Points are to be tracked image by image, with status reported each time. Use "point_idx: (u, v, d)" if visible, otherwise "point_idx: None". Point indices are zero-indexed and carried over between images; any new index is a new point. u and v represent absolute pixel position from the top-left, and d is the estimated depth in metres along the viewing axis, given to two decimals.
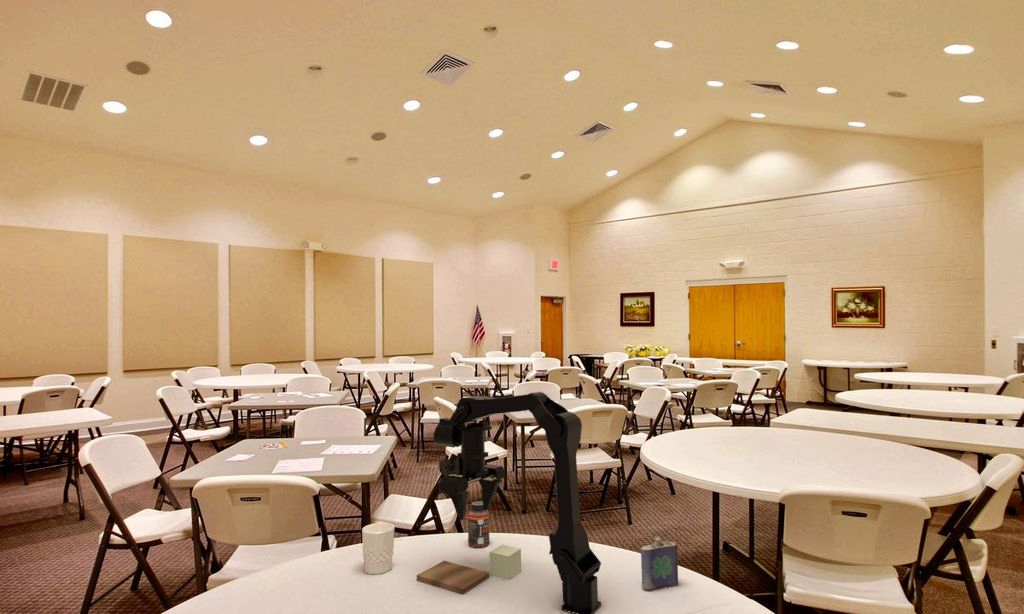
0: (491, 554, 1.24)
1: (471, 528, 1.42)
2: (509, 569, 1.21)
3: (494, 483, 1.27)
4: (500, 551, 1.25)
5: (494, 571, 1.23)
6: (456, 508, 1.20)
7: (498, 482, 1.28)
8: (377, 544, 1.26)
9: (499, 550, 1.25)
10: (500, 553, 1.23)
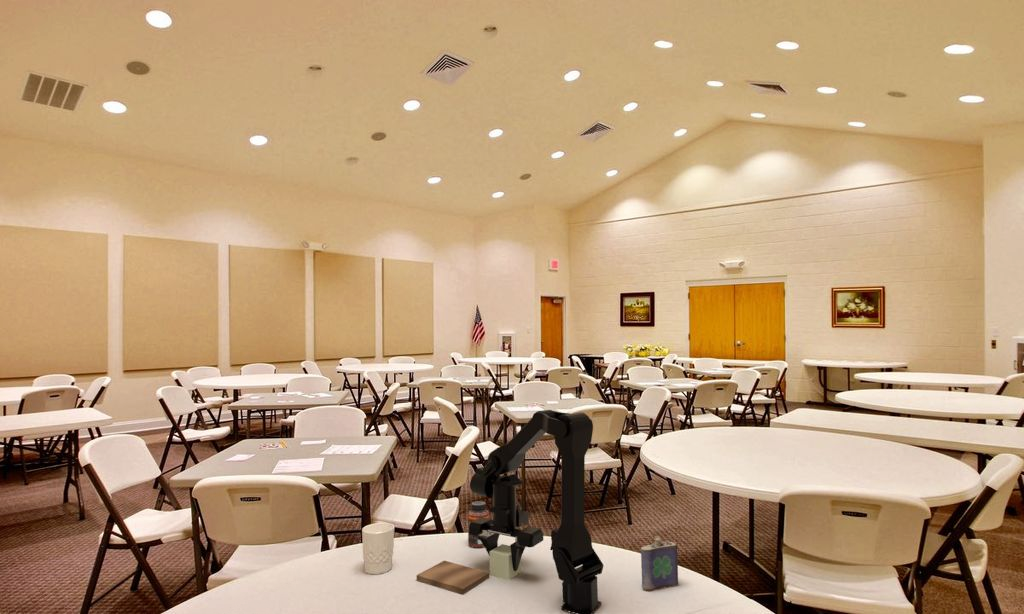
0: (491, 554, 1.24)
1: None
2: (509, 569, 1.21)
3: None
4: (500, 550, 1.25)
5: (494, 570, 1.23)
6: None
7: (514, 547, 1.20)
8: (377, 544, 1.26)
9: (499, 549, 1.25)
10: (500, 553, 1.23)
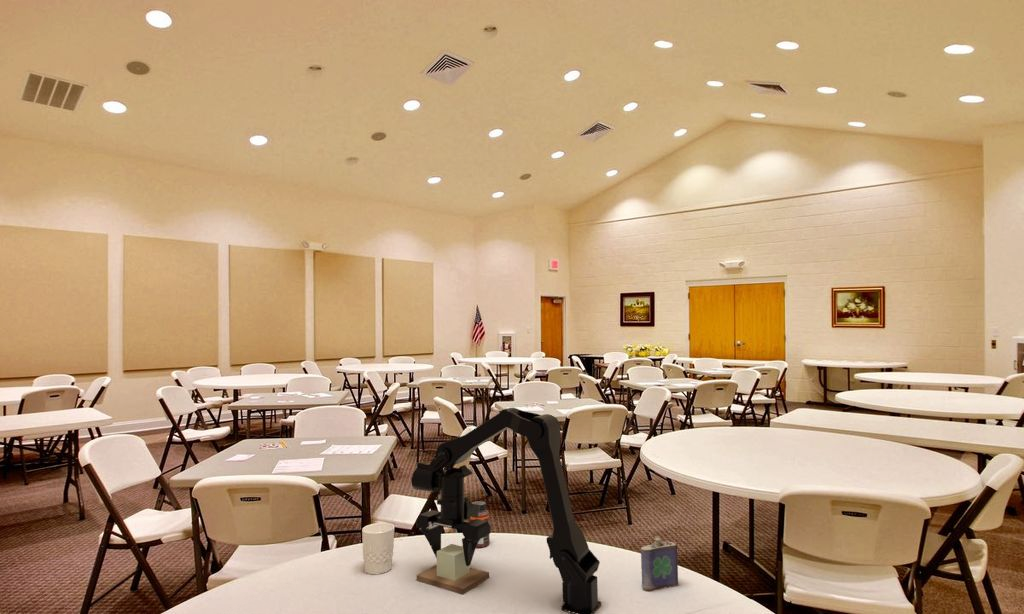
0: (438, 554, 1.21)
1: None
2: (455, 569, 1.19)
3: None
4: (447, 550, 1.22)
5: (441, 570, 1.21)
6: None
7: (465, 541, 1.17)
8: (377, 544, 1.26)
9: (447, 549, 1.23)
10: (447, 553, 1.21)
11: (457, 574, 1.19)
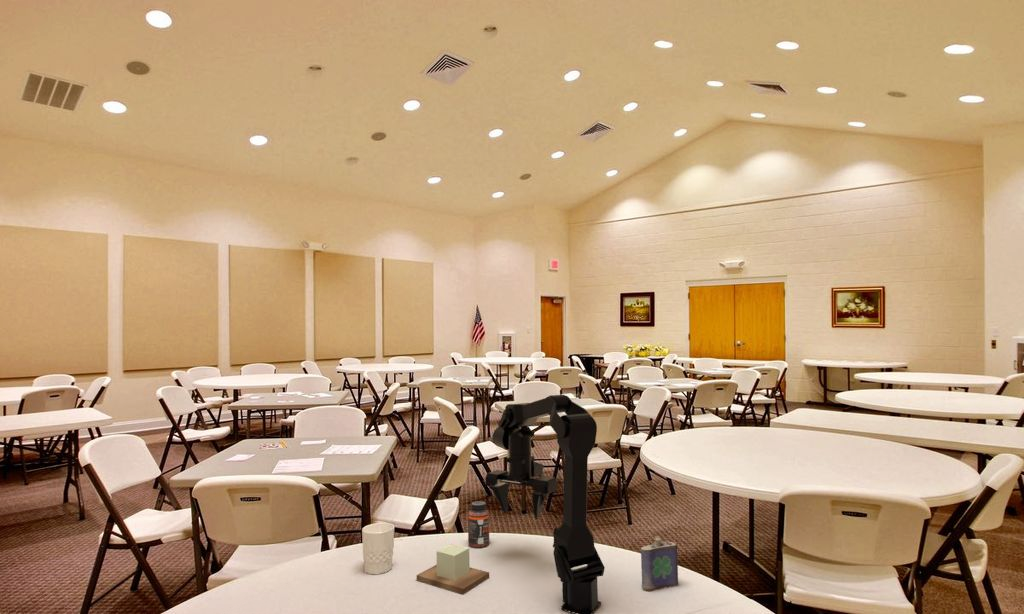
0: (438, 554, 1.21)
1: (471, 528, 1.42)
2: (455, 569, 1.19)
3: None
4: (447, 550, 1.22)
5: (441, 570, 1.21)
6: None
7: (535, 495, 1.25)
8: (377, 544, 1.26)
9: (447, 549, 1.23)
10: (447, 553, 1.21)
11: (457, 574, 1.19)
